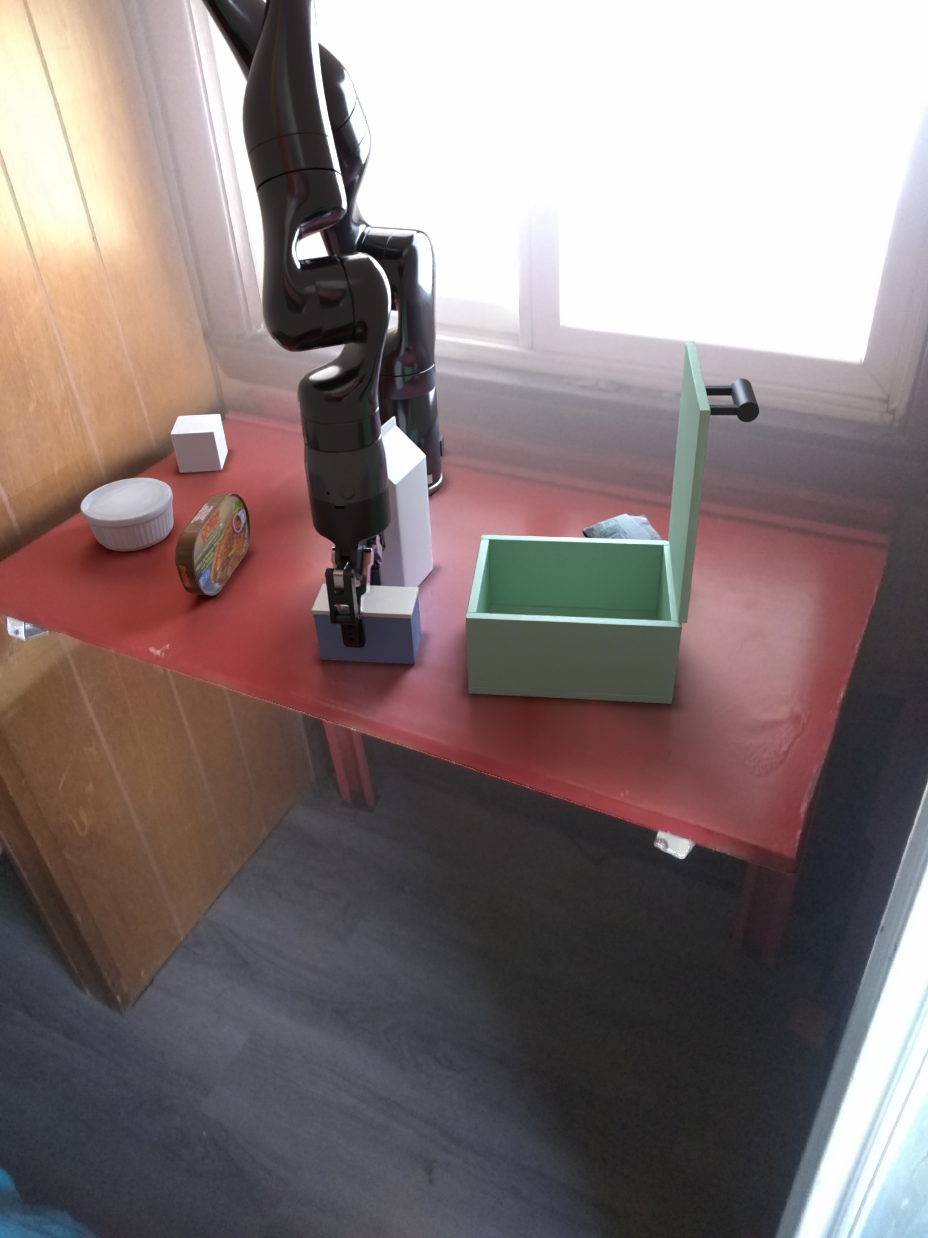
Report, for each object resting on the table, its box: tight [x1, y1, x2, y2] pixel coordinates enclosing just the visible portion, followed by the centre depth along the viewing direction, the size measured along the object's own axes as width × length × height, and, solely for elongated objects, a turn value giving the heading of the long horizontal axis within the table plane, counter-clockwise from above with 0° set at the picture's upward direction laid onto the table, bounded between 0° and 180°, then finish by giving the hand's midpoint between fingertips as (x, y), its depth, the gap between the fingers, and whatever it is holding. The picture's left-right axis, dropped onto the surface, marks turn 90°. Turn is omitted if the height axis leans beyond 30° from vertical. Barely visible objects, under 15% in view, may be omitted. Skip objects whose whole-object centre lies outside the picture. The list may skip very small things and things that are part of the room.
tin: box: [174, 492, 252, 597], centre depth 108 cm, size 15×3×8 cm, turn 168°
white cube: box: [170, 413, 229, 474], centre depth 132 cm, size 6×6×6 cm
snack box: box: [311, 583, 422, 665], centre depth 96 cm, size 5×10×6 cm, turn 83°
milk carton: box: [355, 417, 434, 588], centre depth 102 cm, size 7×7×19 cm
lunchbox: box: [465, 534, 683, 705], centre depth 93 cm, size 20×15×9 cm
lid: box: [667, 340, 760, 624], centre depth 83 cm, size 21×15×5 cm
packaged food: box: [581, 513, 665, 541], centre depth 107 cm, size 9×12×5 cm
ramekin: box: [79, 477, 175, 552], centre depth 117 cm, size 11×11×5 cm
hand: (364, 620), depth 95 cm, fingers open, 8 cm apart
